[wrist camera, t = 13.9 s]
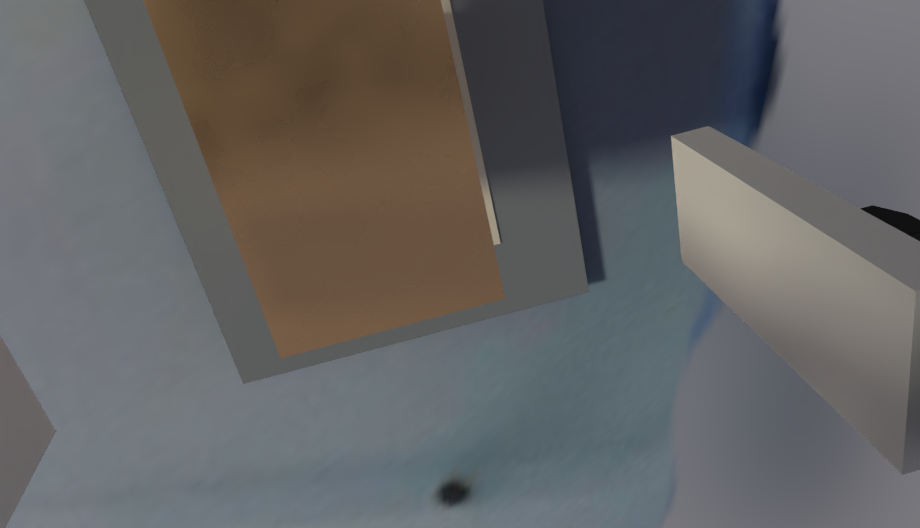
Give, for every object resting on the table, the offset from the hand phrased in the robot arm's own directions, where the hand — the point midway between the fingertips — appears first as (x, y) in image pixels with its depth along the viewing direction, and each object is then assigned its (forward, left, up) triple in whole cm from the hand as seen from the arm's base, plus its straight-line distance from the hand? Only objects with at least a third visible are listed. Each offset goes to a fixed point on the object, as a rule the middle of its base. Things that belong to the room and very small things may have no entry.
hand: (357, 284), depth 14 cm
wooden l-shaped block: (0, 0, -16) cm, 16 cm away
